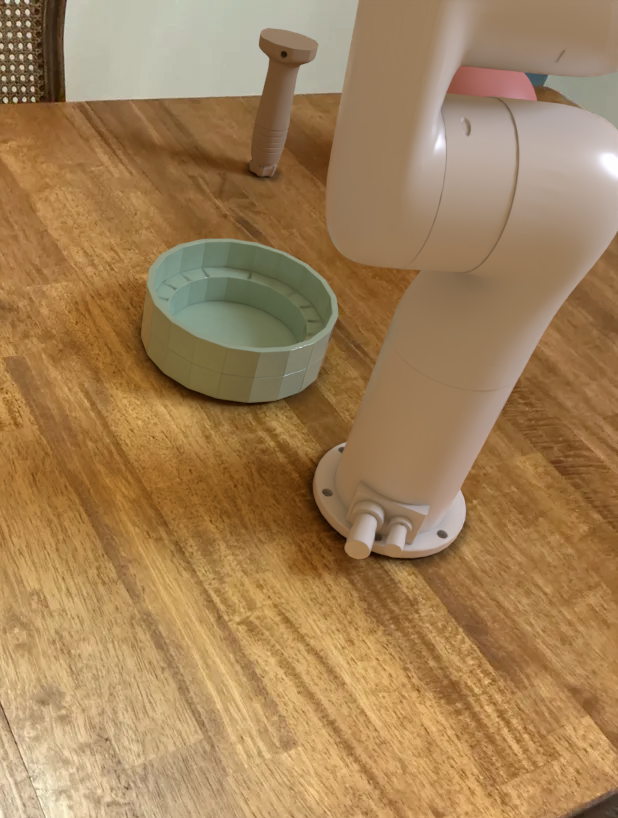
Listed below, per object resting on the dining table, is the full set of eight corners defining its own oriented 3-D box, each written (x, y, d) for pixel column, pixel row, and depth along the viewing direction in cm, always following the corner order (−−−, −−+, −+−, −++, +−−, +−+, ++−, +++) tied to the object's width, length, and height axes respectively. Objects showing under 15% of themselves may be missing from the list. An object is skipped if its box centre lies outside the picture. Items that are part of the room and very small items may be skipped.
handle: (283, 187, 105) (314, 54, 94) (232, 173, 105) (256, 38, 94) (290, 170, 108) (321, 39, 97) (240, 156, 108) (265, 24, 97)
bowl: (293, 430, 76) (310, 376, 72) (111, 365, 78) (116, 308, 73) (340, 328, 87) (356, 275, 83) (179, 273, 89) (187, 219, 85)
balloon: (536, 243, 106) (597, 114, 94) (378, 191, 108) (420, 59, 96) (547, 190, 116) (604, 68, 104) (402, 144, 118) (443, 19, 107)
